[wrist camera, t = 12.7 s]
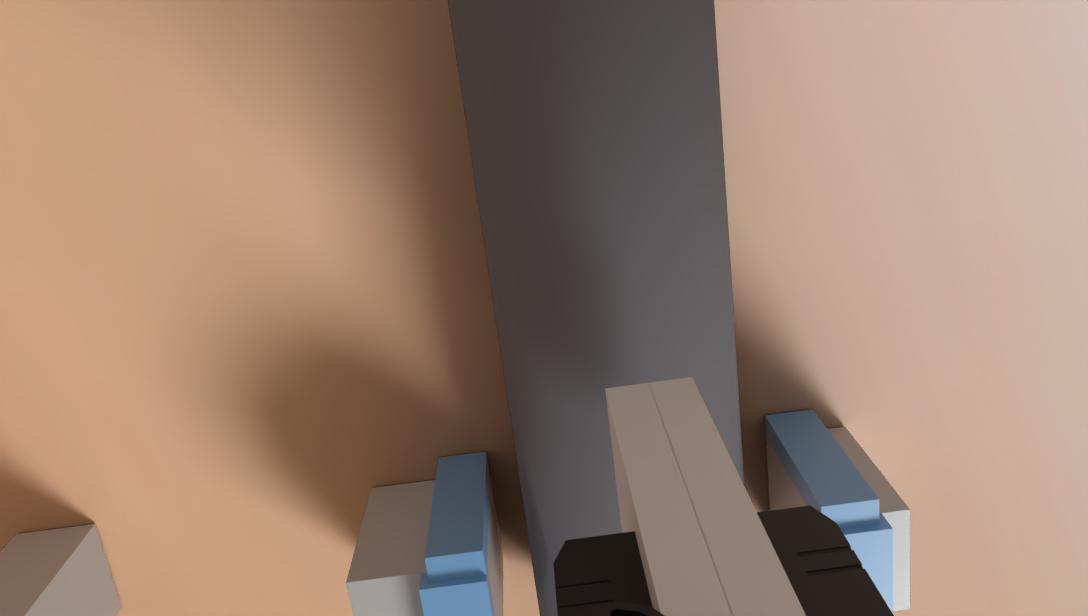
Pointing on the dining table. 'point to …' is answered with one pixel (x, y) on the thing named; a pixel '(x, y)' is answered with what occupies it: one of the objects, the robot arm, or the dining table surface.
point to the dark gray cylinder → (597, 233)
